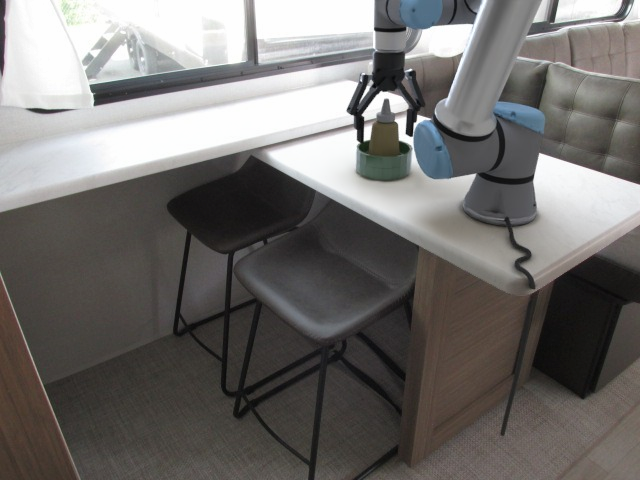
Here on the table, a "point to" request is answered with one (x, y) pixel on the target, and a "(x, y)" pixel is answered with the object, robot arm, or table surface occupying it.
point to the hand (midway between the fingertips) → (385, 138)
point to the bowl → (383, 163)
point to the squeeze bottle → (384, 133)
